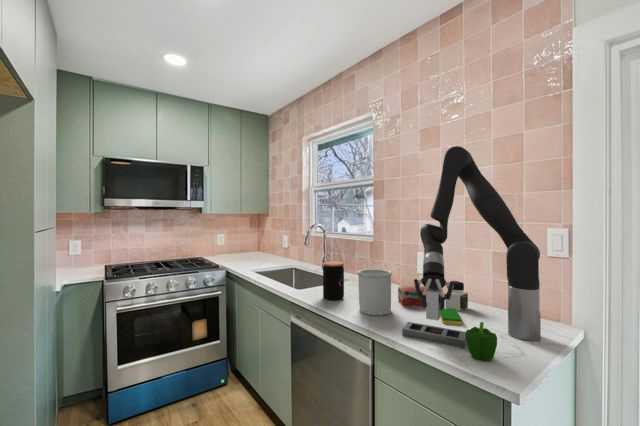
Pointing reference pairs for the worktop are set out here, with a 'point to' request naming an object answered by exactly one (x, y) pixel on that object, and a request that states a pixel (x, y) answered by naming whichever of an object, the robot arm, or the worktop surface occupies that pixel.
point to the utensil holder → (375, 291)
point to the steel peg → (433, 303)
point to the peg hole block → (435, 334)
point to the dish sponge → (450, 316)
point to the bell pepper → (481, 343)
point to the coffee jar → (333, 280)
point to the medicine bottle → (457, 297)
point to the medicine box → (409, 296)
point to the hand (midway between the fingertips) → (433, 307)
